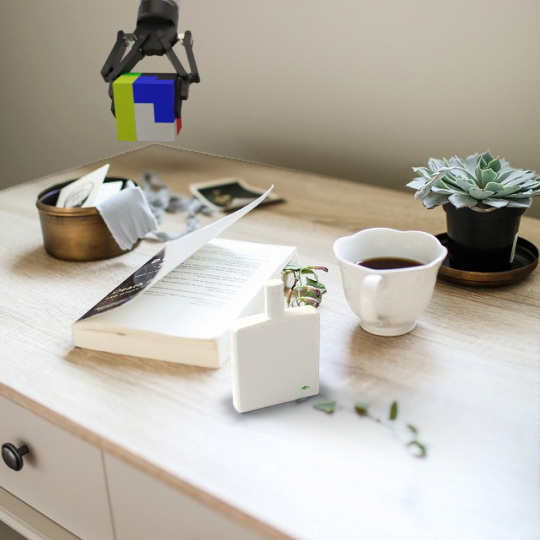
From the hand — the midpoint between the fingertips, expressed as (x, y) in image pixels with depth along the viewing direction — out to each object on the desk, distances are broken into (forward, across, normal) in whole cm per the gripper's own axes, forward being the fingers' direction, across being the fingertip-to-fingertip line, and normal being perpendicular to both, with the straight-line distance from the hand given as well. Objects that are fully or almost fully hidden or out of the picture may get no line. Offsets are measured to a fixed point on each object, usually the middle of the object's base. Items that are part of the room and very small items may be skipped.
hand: (145, 114), depth 118 cm
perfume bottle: (+54, -28, +40) cm, 73 cm away
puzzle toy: (+1, 0, -5) cm, 5 cm away
